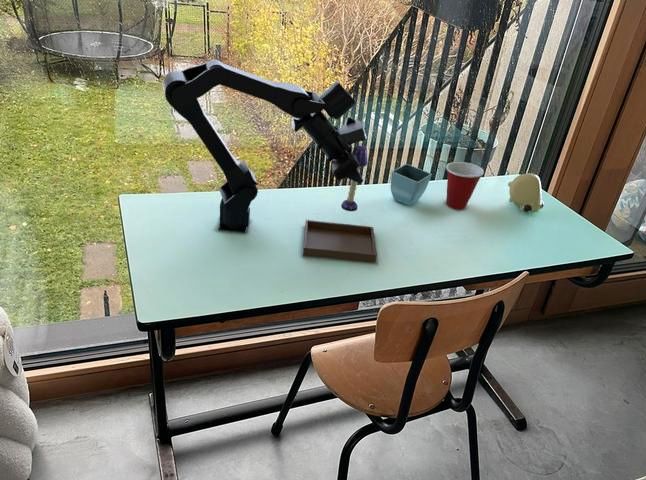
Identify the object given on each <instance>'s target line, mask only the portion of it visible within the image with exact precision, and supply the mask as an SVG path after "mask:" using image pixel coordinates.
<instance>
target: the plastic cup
mask: <svg viewBox="0 0 646 480" xmlns="http://www.w3.org/2000/svg"><path fill="white" fill-rule="evenodd" d="M445 169H446V173H447V182H446V183H447V184H446V198H445V200H446V203H445V204H446V206H448V207H449V208H451V209H453V210H459V211H460V210H461V211H462V210H465V208H466V207H467V206H468V203H469V201H470V199H471V198H472V196H473V193H474V191H475V189H476V187H477V185H478V183H479V181H480V180H481V177H482V176H483V175H484V173H485V171H484V169H483V168H482V167H481V166H479V165H476V164H475V163H470V162H463V161H452V162H449V163H447V164H446V165H445Z"/></svg>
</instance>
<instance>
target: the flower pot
mask: <svg viewBox="0 0 646 480" xmlns="http://www.w3.org/2000/svg"><path fill="white" fill-rule="evenodd" d="M431 177H432V173H431V172H429V171H425V170H423V169H422V168H419V167H416V166H414V165H411V164H408V163H405V164H402V165H401V166H399V167H397V168H395V169H393V170H392V171H391V174H390V193H391V196H392V198H393V200H395V201H397V202H399V203H401V204H403V205H406V206H408V207H410V206H412V205H413V204H414V203H416V202H417V201H418V200H419V199H420V198H421V197H422V196H423V195H424V193H425V192H426V190H427V188H428V185H429V183H430V181H431Z"/></svg>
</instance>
